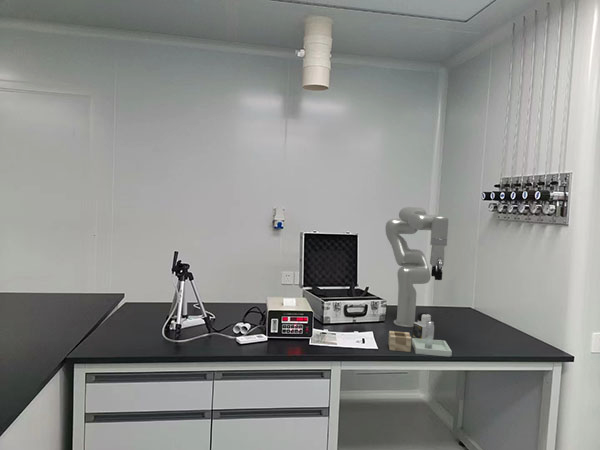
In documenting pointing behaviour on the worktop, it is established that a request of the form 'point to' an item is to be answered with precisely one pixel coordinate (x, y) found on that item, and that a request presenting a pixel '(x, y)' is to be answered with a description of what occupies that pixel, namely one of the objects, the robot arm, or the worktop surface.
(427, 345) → the cylinder
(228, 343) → the worktop surface
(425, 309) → the worktop surface
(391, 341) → the beech block
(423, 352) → the tray
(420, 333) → the medicine bottle
